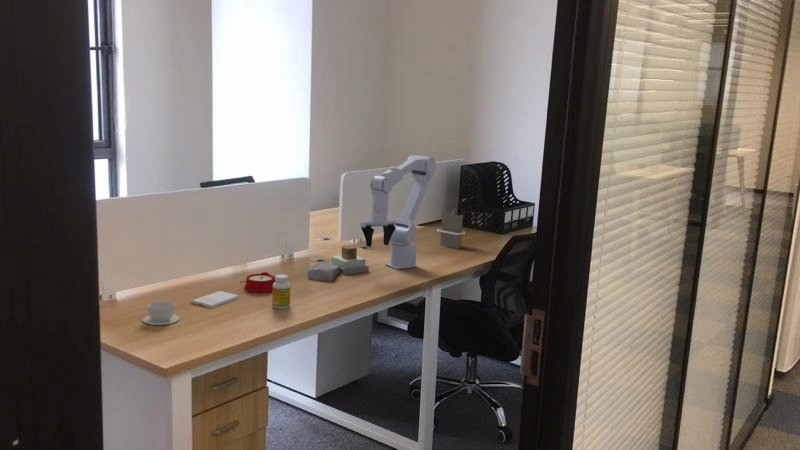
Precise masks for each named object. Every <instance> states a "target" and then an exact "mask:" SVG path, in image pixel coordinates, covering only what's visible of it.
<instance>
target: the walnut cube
mask: <svg viewBox="0 0 800 450" xmlns="http://www.w3.org/2000/svg"><path fill="white" fill-rule="evenodd" d="M357 250H358V248H357V247H356V246H353V245H347V246H346V245H345V246H341V255H342V258H345V259H347V260H348V259H356V258H357V256H358V255H357V254H358V253H357V252H358V251H357Z"/></svg>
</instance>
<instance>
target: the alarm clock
mask: <svg viewBox="0 0 800 450" xmlns="http://www.w3.org/2000/svg"><path fill="white" fill-rule="evenodd" d="M275 276H276V275H273V274H270V273H269V272H266V271H264V272H261V273H252V274H249V275H247V276H246V279H245V280H243V281H239V283H240V284H241V283H245V285H244V286H243V287H244V290H245V291H247V292H248V293H256V294H257V293H261V294H262V293H270V292H273V283H274V282H276V281H275Z"/></svg>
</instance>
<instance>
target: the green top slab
mask: <svg viewBox="0 0 800 450" xmlns="http://www.w3.org/2000/svg"><path fill="white" fill-rule="evenodd" d="M331 262H332V263H333V264H335V265H339V266H340V267H343V268H345V269H346V268H352V267H359V266H365V265H366V258H364V257H361V256H359V255H357V258H356V259H348V260H347V259H345V258H342V254H339V255H333V256H331Z"/></svg>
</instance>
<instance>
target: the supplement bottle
mask: <svg viewBox="0 0 800 450" xmlns="http://www.w3.org/2000/svg"><path fill="white" fill-rule="evenodd" d="M274 276H275V281H276V282H274V283H273V291H272V299H271V300H272V301H271V303H272V305H271V306H272V307H273V308H274V309H280V310H283V309H288V308H290V306H291V284H290V282H289V275H287V274H283V273H282V274H276V275H274Z"/></svg>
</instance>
